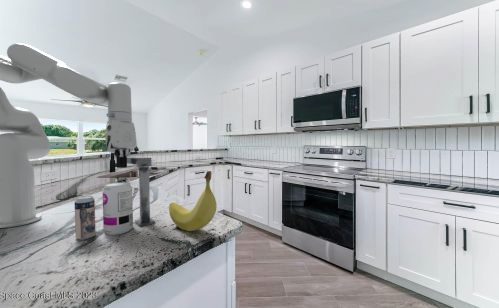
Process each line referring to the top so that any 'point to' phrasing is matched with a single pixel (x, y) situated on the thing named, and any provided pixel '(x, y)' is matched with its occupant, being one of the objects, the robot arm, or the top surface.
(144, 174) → the post
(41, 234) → the top surface
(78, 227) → the beer can
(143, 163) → the swing arm
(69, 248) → the top surface
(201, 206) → the banana
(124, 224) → the supplement can
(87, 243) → the top surface
